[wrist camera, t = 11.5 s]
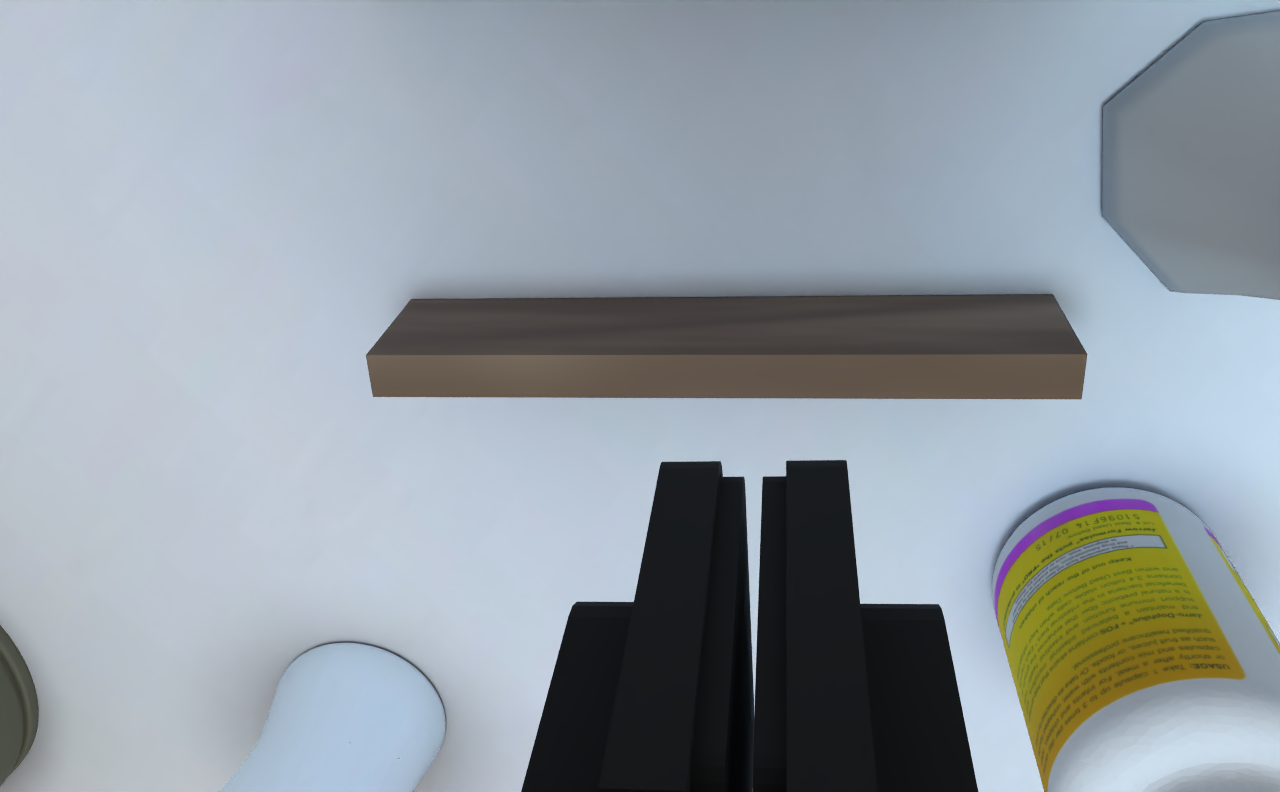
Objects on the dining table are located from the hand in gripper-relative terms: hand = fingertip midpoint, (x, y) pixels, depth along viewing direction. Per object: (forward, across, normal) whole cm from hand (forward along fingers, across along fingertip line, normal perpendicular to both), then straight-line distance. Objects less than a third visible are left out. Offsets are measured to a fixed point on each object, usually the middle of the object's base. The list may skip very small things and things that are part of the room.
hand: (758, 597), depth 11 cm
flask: (+22, -12, +2) cm, 25 cm away
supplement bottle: (+21, -10, +15) cm, 28 cm away
